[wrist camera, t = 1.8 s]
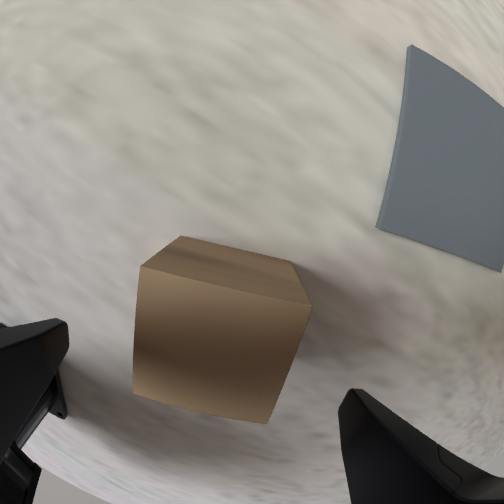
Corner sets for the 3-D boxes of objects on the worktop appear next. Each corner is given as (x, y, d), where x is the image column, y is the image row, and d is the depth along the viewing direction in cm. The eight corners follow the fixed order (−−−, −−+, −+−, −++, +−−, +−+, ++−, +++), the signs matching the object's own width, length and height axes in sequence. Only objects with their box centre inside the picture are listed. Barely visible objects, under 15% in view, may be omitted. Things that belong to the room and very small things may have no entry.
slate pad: (496, 270, 13) (501, 272, 12) (375, 227, 12) (380, 229, 12) (518, 127, 11) (523, 126, 10) (407, 47, 10) (411, 44, 10)
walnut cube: (262, 353, 14) (266, 424, 9) (166, 331, 14) (133, 393, 9) (290, 260, 13) (312, 305, 8) (181, 235, 13) (140, 266, 8)
